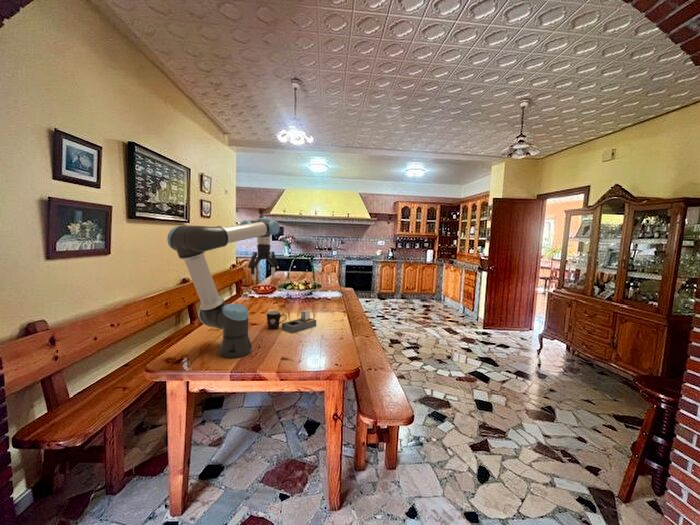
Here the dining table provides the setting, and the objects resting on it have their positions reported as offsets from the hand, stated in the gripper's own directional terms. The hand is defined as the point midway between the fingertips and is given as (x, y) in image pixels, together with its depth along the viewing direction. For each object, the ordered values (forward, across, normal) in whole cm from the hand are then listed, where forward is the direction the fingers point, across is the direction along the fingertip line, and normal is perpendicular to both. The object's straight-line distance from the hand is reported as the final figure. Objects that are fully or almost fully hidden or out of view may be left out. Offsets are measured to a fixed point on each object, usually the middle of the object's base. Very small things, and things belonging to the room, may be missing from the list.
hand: (263, 278), depth 178 cm
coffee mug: (+32, +6, -4) cm, 33 cm away
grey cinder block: (+32, +17, -14) cm, 39 cm away
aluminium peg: (+32, +22, -14) cm, 41 cm away
